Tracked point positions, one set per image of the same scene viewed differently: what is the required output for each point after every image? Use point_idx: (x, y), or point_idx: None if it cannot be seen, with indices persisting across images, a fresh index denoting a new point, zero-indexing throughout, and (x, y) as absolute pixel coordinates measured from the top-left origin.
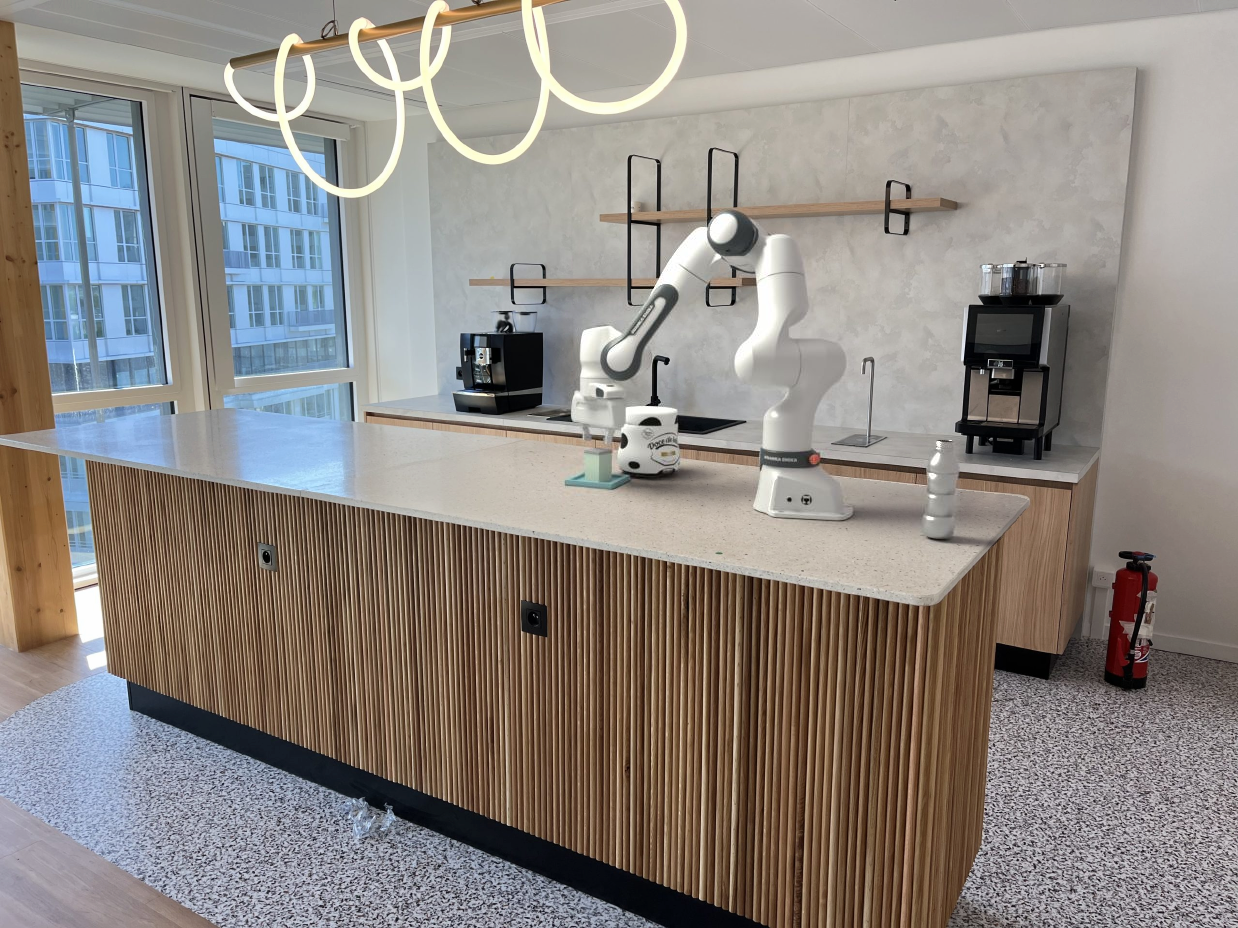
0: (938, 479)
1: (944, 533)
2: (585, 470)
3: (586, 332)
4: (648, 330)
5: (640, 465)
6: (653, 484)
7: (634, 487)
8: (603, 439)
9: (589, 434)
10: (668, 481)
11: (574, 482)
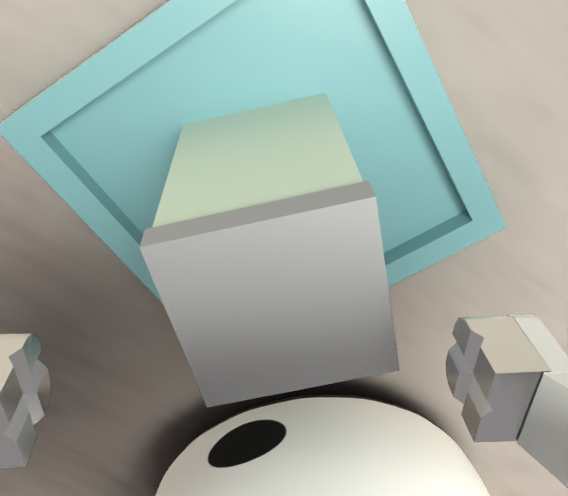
0: None
1: None
2: (328, 121)
3: None
4: None
5: (206, 460)
6: (67, 383)
7: (26, 270)
8: (2, 374)
9: (479, 415)
10: (108, 461)
11: None
